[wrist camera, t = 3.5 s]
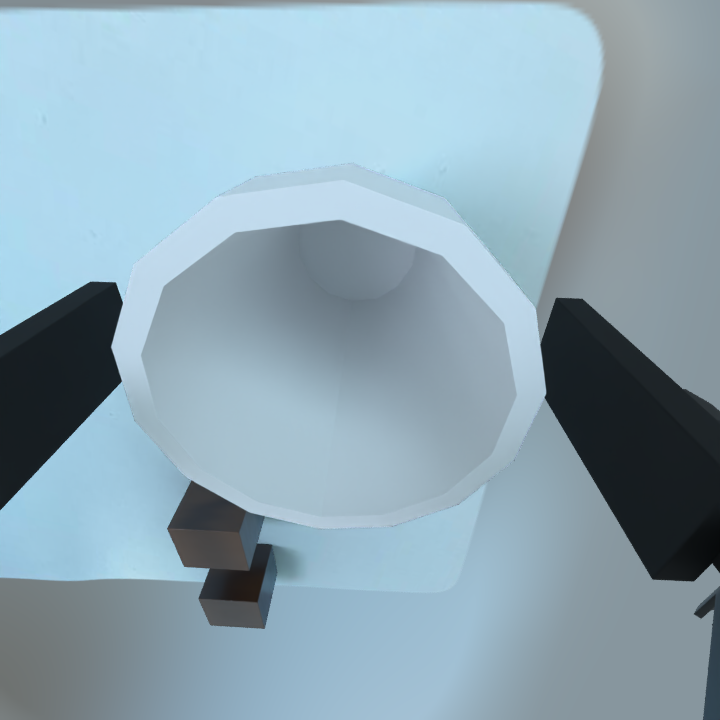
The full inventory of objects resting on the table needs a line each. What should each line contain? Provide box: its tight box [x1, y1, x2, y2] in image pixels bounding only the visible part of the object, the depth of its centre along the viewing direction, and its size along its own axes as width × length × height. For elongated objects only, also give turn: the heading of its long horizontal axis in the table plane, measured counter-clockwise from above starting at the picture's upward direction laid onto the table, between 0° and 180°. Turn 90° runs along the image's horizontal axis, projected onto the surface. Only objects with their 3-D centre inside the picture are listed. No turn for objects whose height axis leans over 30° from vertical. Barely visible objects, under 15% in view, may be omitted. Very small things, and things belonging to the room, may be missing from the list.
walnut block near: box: [167, 481, 265, 571], centre depth 29 cm, size 5×5×5 cm
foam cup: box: [111, 163, 546, 529], centre depth 14 cm, size 10×9×13 cm
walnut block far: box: [199, 544, 277, 629], centre depth 35 cm, size 5×5×5 cm
